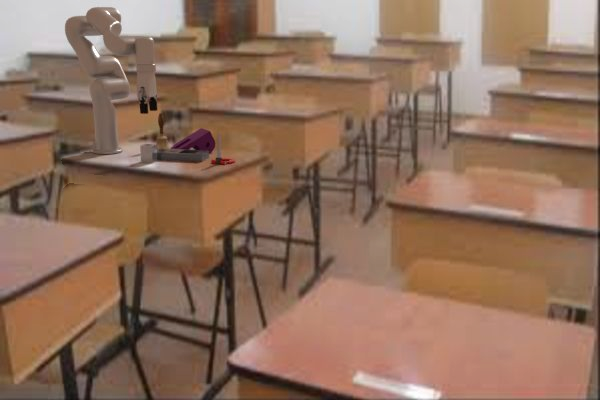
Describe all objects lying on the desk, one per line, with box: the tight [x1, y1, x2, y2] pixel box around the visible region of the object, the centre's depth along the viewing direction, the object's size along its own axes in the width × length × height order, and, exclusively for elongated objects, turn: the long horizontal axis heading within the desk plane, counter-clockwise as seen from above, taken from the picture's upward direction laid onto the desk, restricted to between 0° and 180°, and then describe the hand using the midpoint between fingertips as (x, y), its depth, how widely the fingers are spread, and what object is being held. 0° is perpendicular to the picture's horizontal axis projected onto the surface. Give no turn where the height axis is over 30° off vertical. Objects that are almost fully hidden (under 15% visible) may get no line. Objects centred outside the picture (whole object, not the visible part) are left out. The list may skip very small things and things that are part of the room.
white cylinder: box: [139, 143, 158, 164], centre depth 304 cm, size 5×5×7 cm
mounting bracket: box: [170, 127, 216, 153], centre depth 325 cm, size 9×8×18 cm
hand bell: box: [155, 112, 172, 149], centre depth 330 cm, size 8×8×16 cm
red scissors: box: [210, 131, 236, 166], centre depth 304 cm, size 8×13×9 cm
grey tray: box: [157, 148, 210, 163], centre depth 311 cm, size 22×9×3 cm, turn 78°
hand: (149, 112), depth 301 cm, fingers open, 9 cm apart
